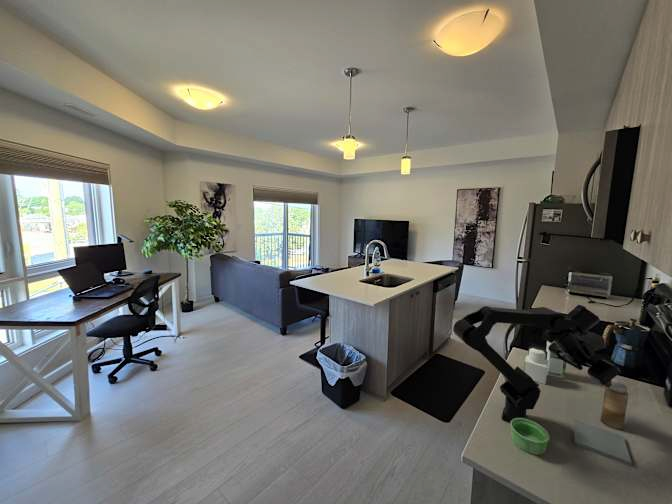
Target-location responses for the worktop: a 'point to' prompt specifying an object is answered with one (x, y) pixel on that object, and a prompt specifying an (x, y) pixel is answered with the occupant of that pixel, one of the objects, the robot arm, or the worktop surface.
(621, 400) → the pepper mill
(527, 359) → the medicine bottle
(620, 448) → the slate trivet
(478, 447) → the worktop surface
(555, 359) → the syrup box
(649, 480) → the worktop surface
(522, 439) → the ramekin
